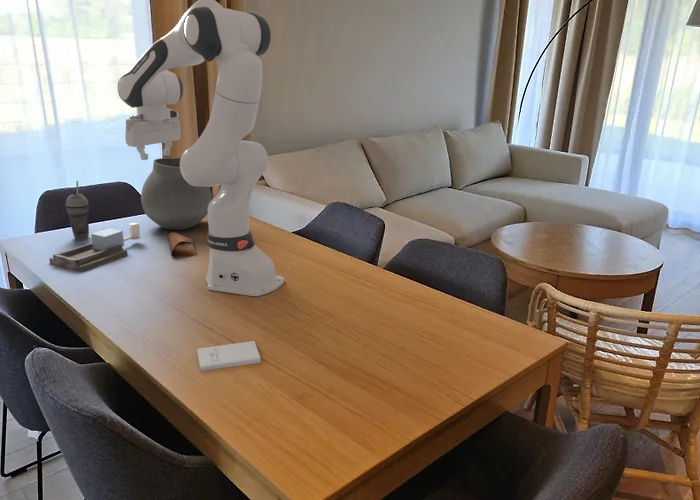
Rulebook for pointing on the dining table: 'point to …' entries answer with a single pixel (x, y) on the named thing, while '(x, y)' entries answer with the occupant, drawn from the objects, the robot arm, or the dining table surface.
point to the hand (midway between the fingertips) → (155, 157)
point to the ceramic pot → (173, 197)
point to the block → (113, 237)
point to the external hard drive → (228, 355)
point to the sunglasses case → (181, 245)
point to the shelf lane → (87, 257)
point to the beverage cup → (78, 215)
